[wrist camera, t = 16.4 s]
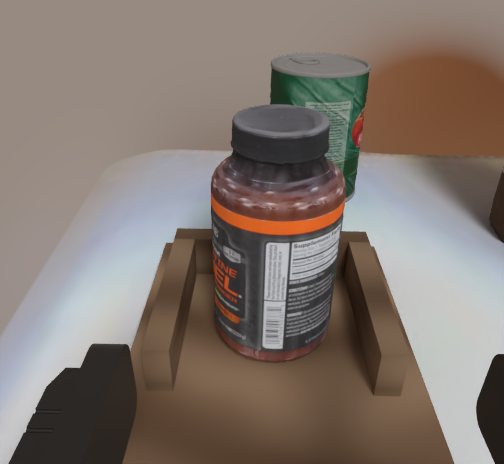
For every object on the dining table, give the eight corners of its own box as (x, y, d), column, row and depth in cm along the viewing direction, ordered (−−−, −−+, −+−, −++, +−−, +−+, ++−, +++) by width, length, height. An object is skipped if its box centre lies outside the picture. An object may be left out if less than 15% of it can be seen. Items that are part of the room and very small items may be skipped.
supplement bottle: (199, 308, 26) (187, 104, 21) (293, 282, 29) (306, 91, 23) (242, 385, 22) (243, 150, 16) (351, 347, 24) (386, 128, 18)
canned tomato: (373, 193, 42) (393, 65, 37) (305, 217, 39) (315, 78, 33) (314, 164, 48) (324, 49, 42) (250, 182, 44) (251, 58, 39)
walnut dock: (168, 261, 33) (163, 210, 31) (370, 264, 33) (379, 213, 31) (99, 485, 19) (83, 420, 17) (448, 493, 19) (473, 428, 17)
